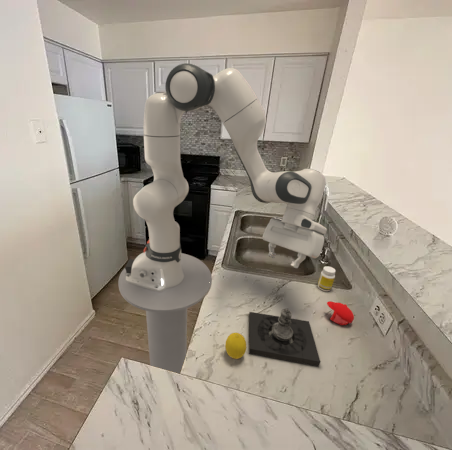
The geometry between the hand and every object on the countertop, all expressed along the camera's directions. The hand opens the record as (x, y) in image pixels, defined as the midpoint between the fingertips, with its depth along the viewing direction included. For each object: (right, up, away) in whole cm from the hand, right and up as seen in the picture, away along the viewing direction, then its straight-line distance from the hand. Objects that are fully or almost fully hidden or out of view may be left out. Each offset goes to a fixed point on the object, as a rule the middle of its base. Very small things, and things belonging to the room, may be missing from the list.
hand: (281, 262), depth 81 cm
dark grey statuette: (-3, -22, -6) cm, 23 cm away
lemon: (-17, -24, -11) cm, 32 cm away
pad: (-3, -22, -6) cm, 23 cm away
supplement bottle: (+22, -12, +15) cm, 29 cm away
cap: (+18, -19, +1) cm, 26 cm away
